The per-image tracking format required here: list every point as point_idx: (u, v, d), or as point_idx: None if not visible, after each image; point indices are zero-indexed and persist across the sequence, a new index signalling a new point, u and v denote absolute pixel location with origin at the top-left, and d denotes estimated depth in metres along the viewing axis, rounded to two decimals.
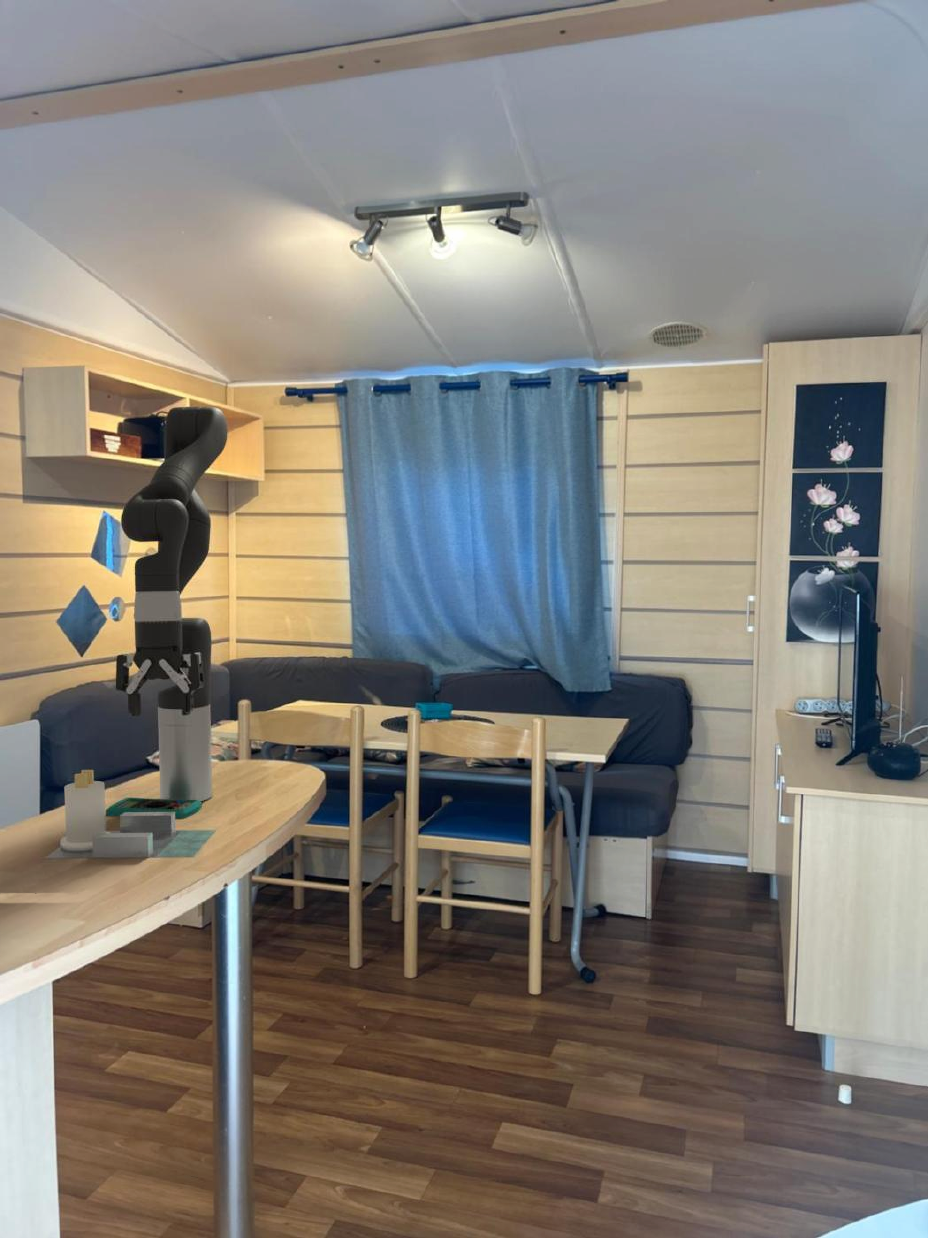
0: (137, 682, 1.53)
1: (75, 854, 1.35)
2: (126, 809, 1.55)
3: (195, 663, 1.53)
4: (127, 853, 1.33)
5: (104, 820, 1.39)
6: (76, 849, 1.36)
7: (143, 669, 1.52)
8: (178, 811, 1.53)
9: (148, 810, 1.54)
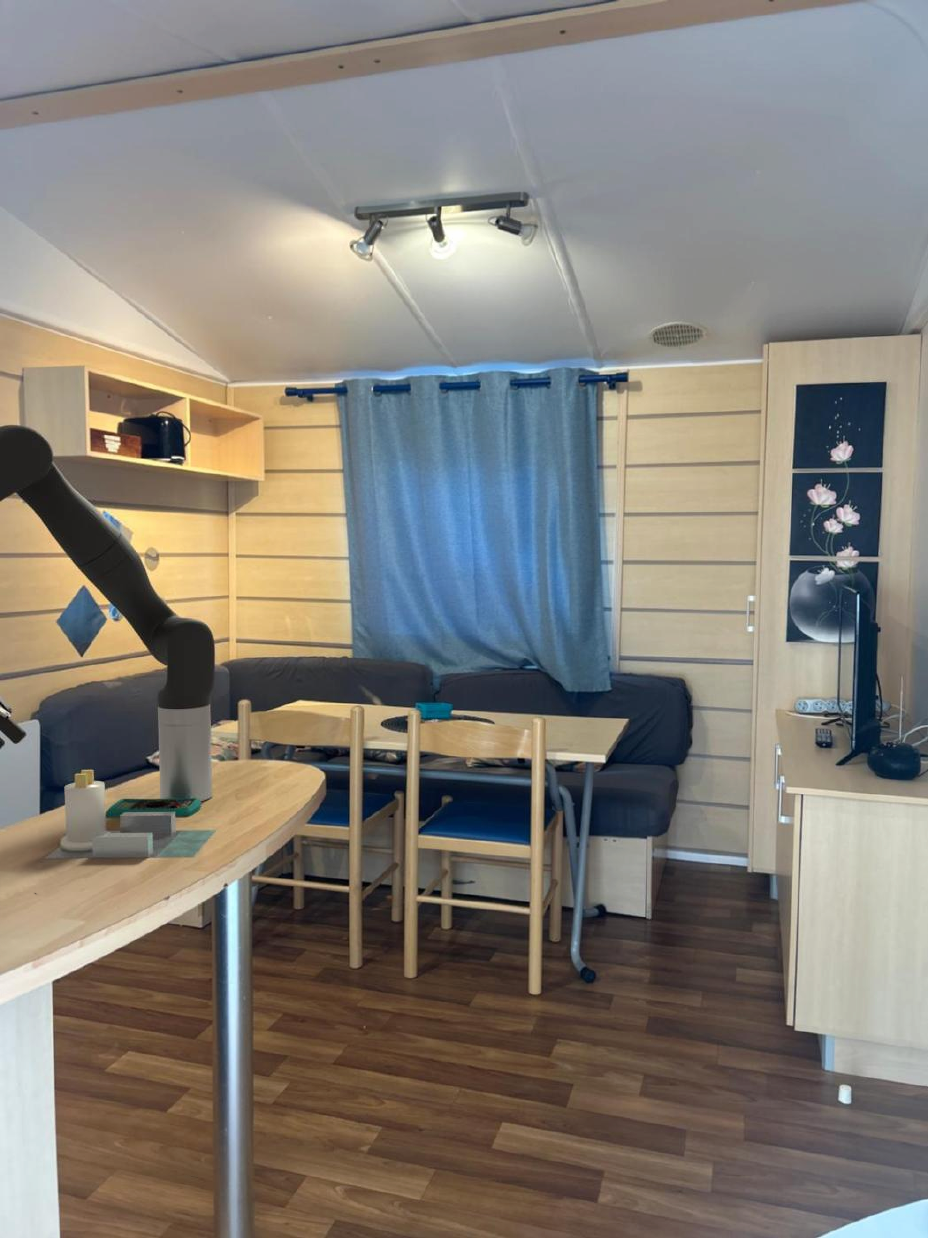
0: None
1: (75, 854, 1.35)
2: (128, 810, 1.54)
3: None
4: (127, 853, 1.33)
5: (104, 820, 1.39)
6: (76, 849, 1.36)
7: None
8: (183, 809, 1.54)
9: (151, 810, 1.54)
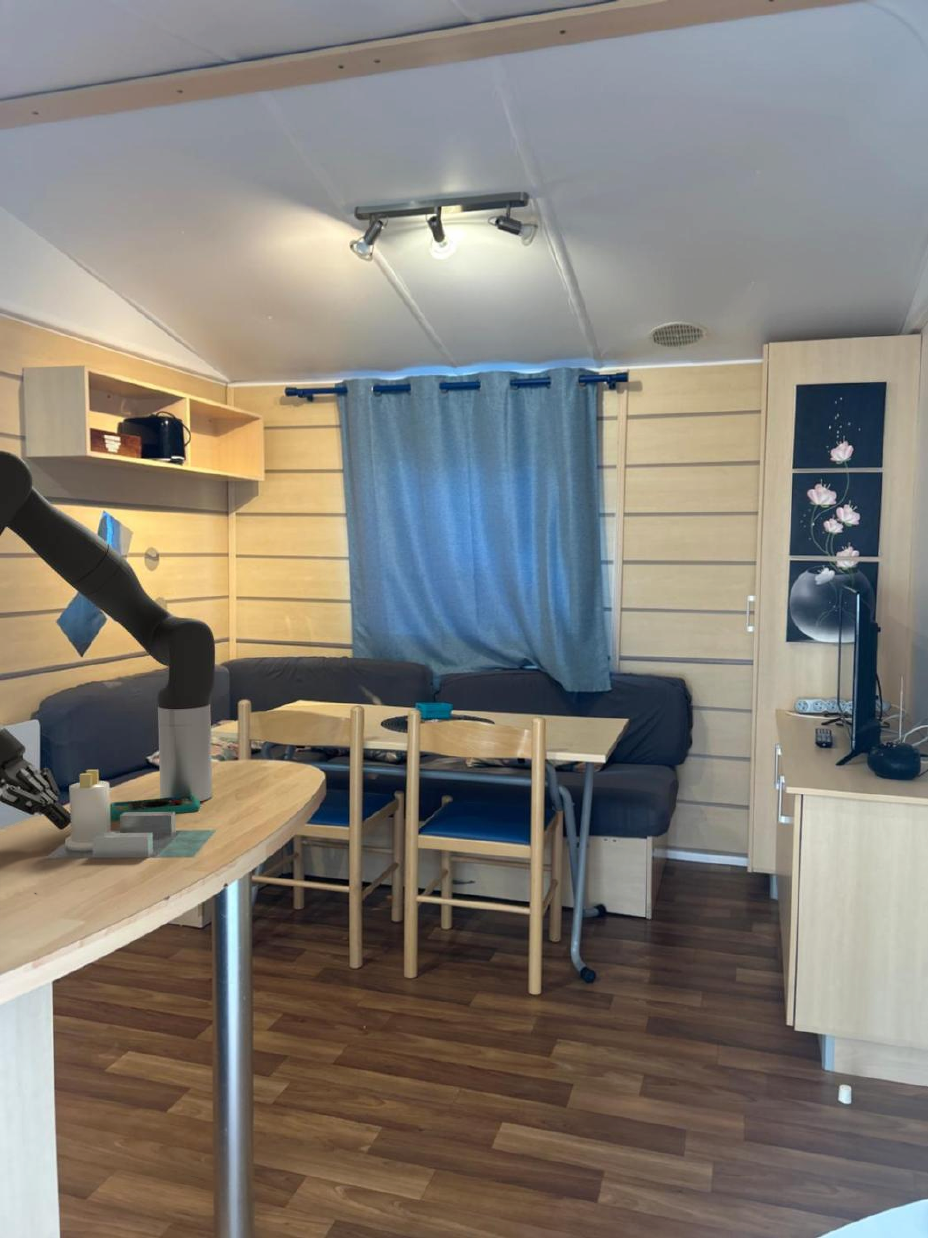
0: None
1: (75, 854, 1.35)
2: (134, 811, 1.53)
3: None
4: (127, 853, 1.33)
5: (109, 820, 1.39)
6: (81, 849, 1.36)
7: None
8: (191, 805, 1.57)
9: (158, 809, 1.55)
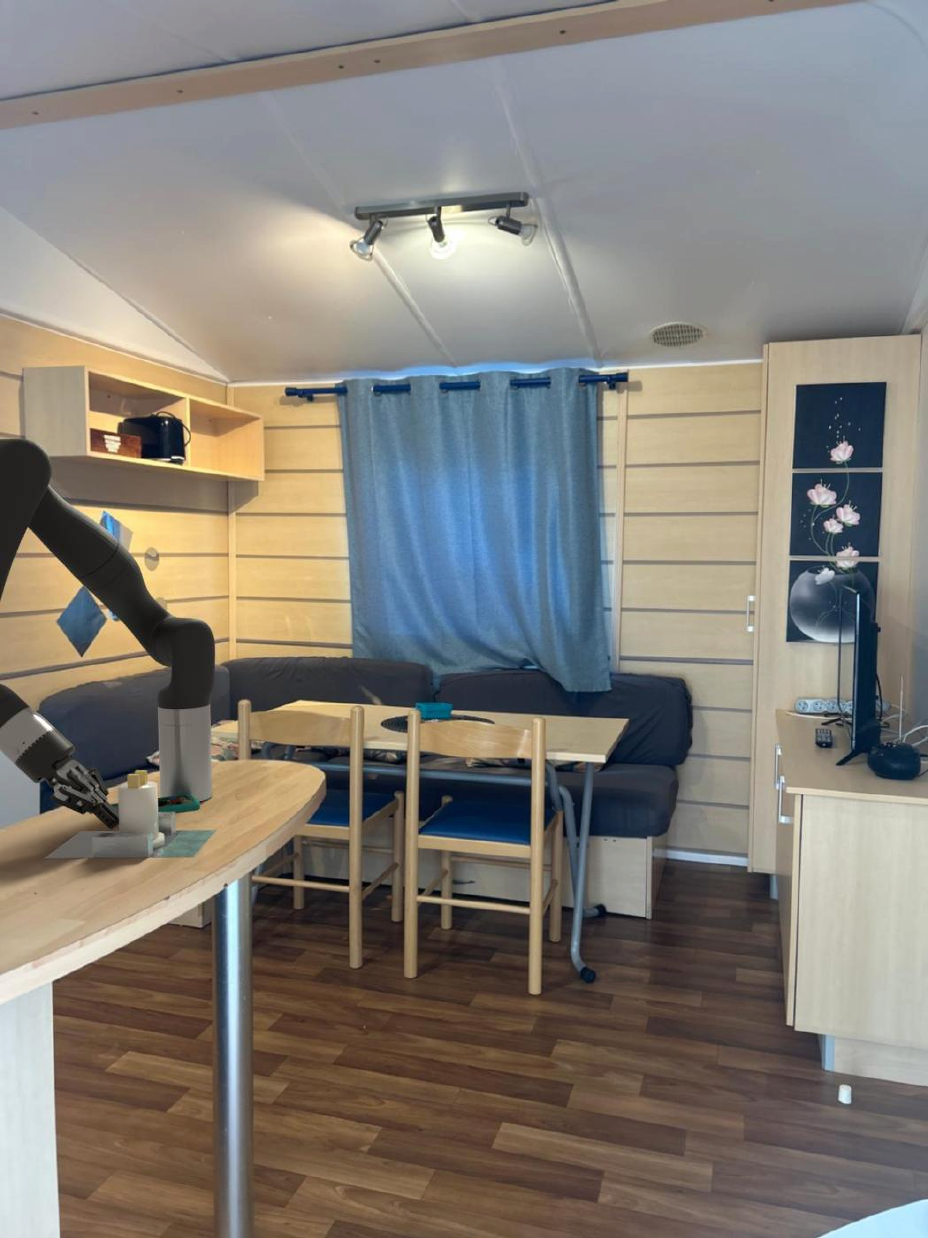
0: None
1: (75, 854, 1.35)
2: None
3: None
4: (127, 853, 1.33)
5: (156, 821, 1.39)
6: None
7: None
8: (193, 803, 1.58)
9: (160, 808, 1.55)
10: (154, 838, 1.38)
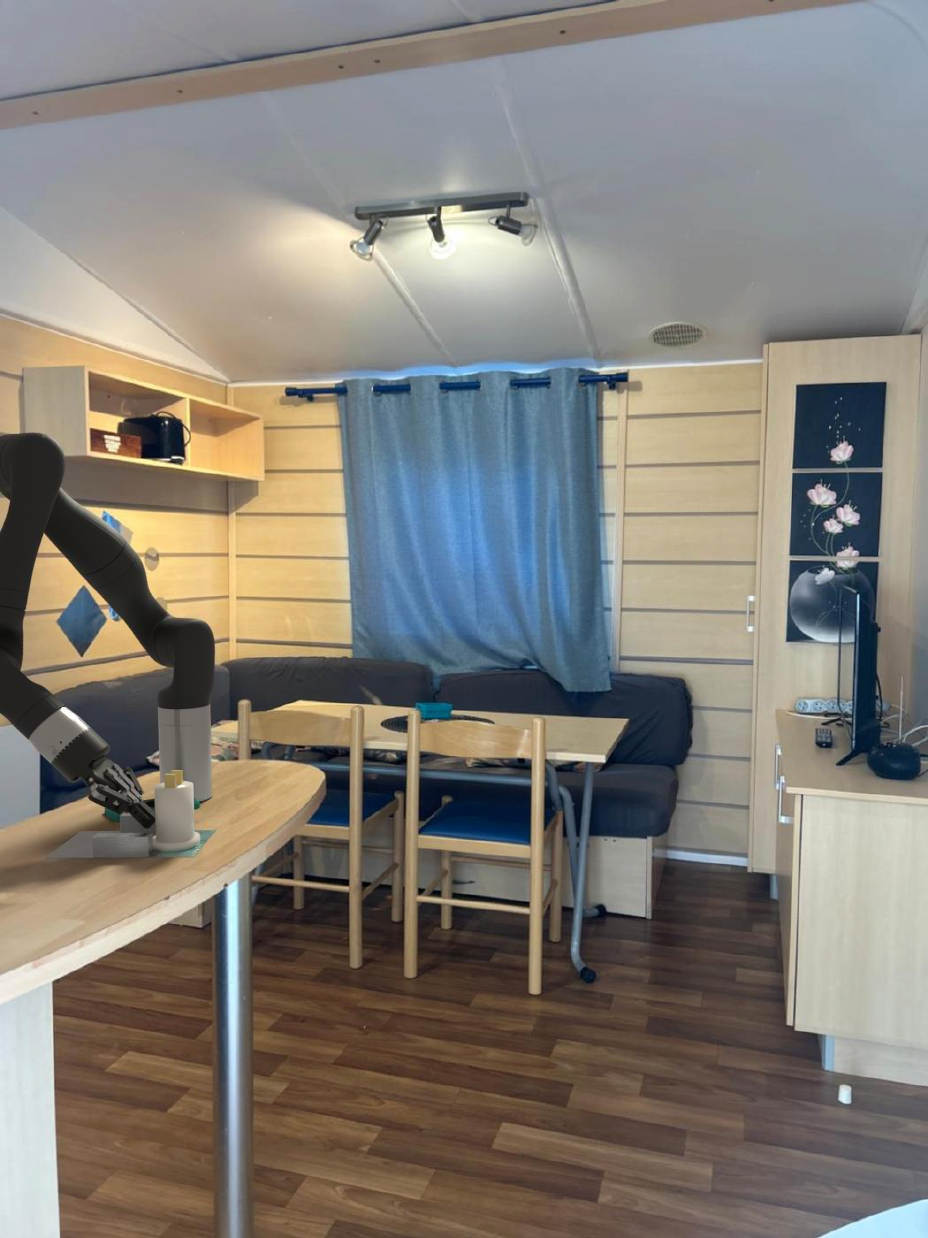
0: None
1: (75, 854, 1.35)
2: None
3: None
4: (127, 853, 1.33)
5: (193, 821, 1.39)
6: (165, 849, 1.36)
7: None
8: None
9: None
10: (191, 837, 1.38)
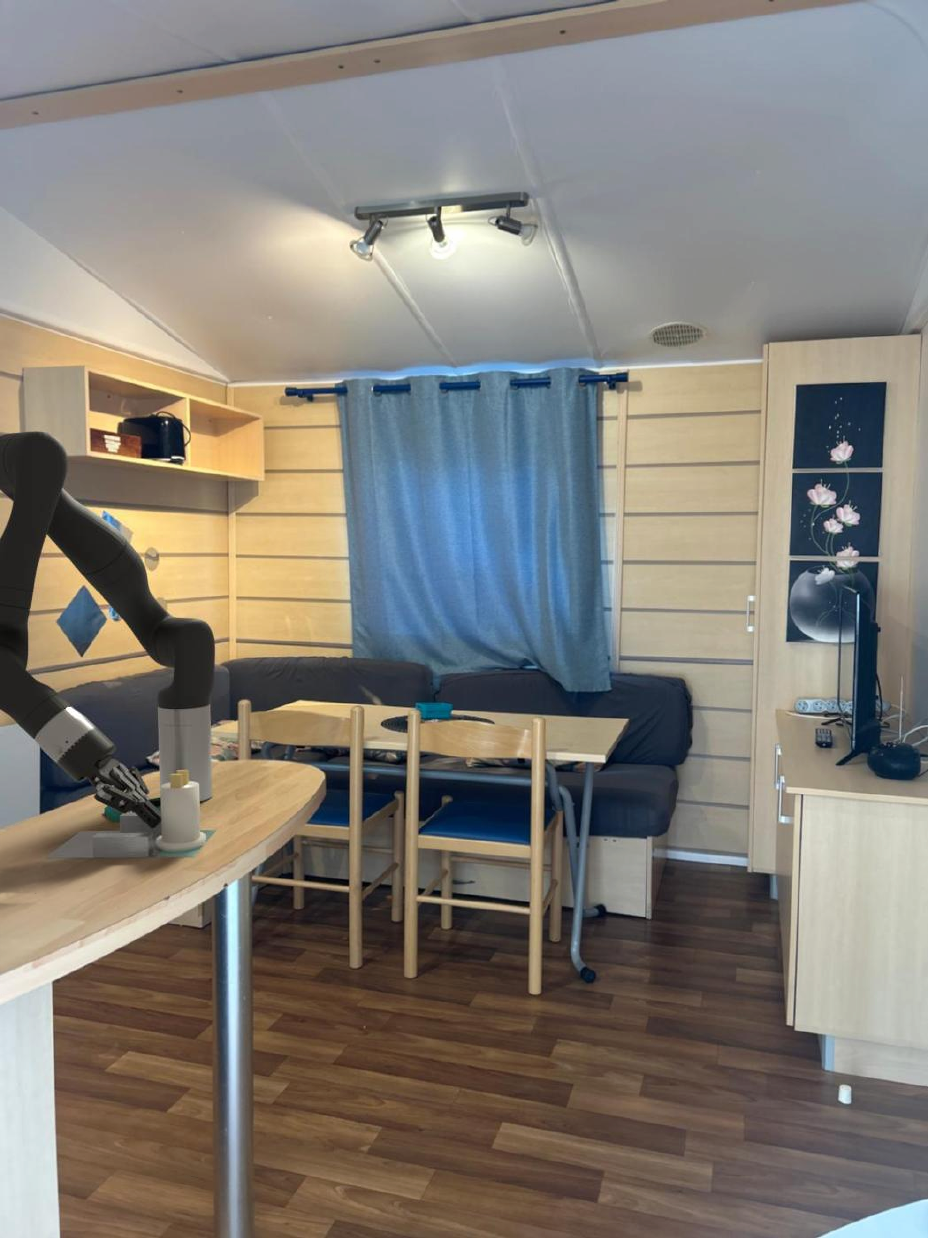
0: None
1: (75, 854, 1.35)
2: None
3: None
4: (127, 853, 1.33)
5: (198, 821, 1.39)
6: (171, 849, 1.36)
7: None
8: None
9: None
10: (196, 838, 1.38)
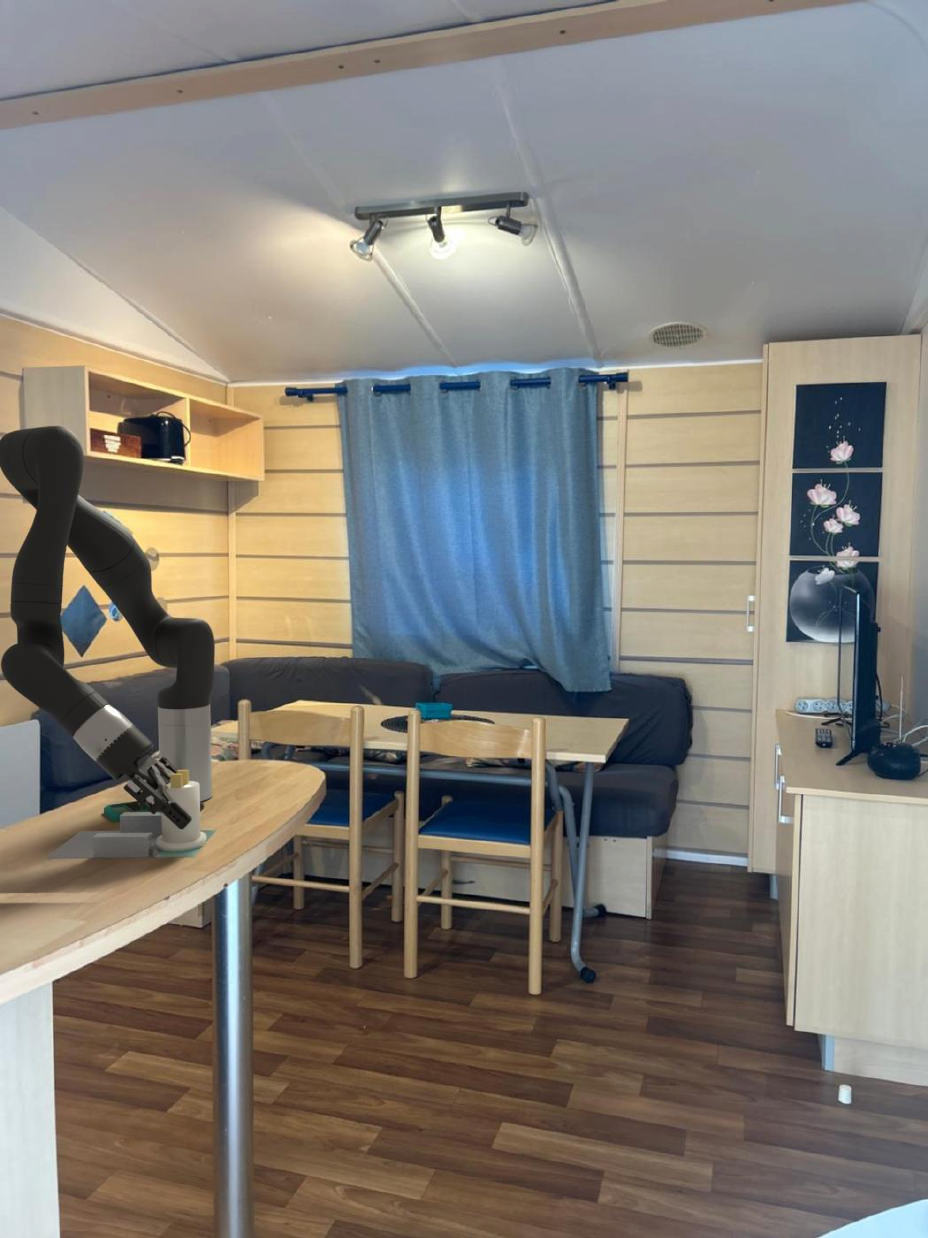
0: None
1: (75, 854, 1.35)
2: (138, 811, 1.53)
3: None
4: (127, 853, 1.33)
5: (199, 821, 1.39)
6: (171, 849, 1.36)
7: None
8: None
9: None
10: (197, 837, 1.38)
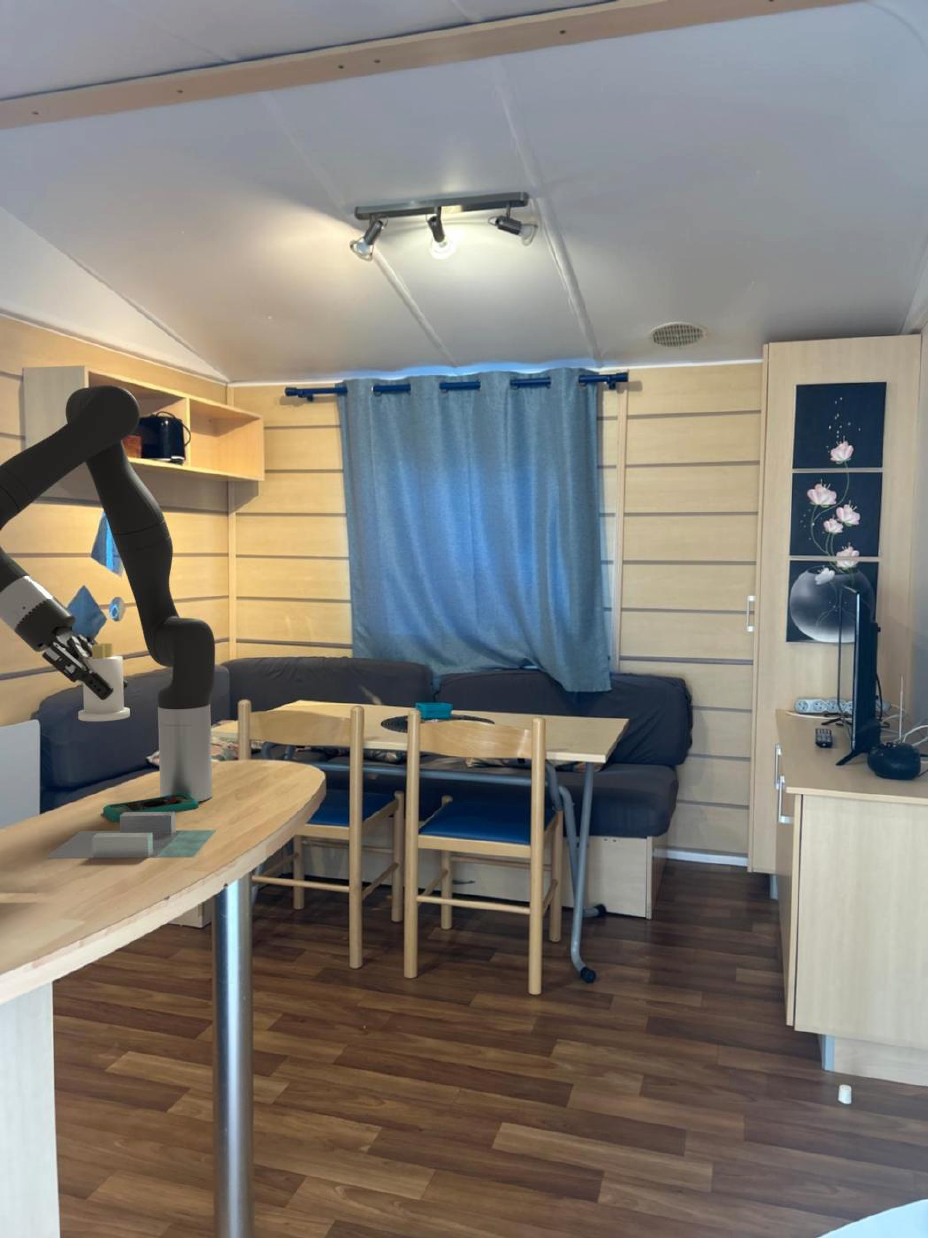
0: None
1: (75, 854, 1.35)
2: (137, 811, 1.53)
3: None
4: (127, 853, 1.33)
5: (121, 693, 1.38)
6: (92, 719, 1.35)
7: None
8: (191, 802, 1.59)
9: (160, 808, 1.56)
10: (119, 710, 1.37)
